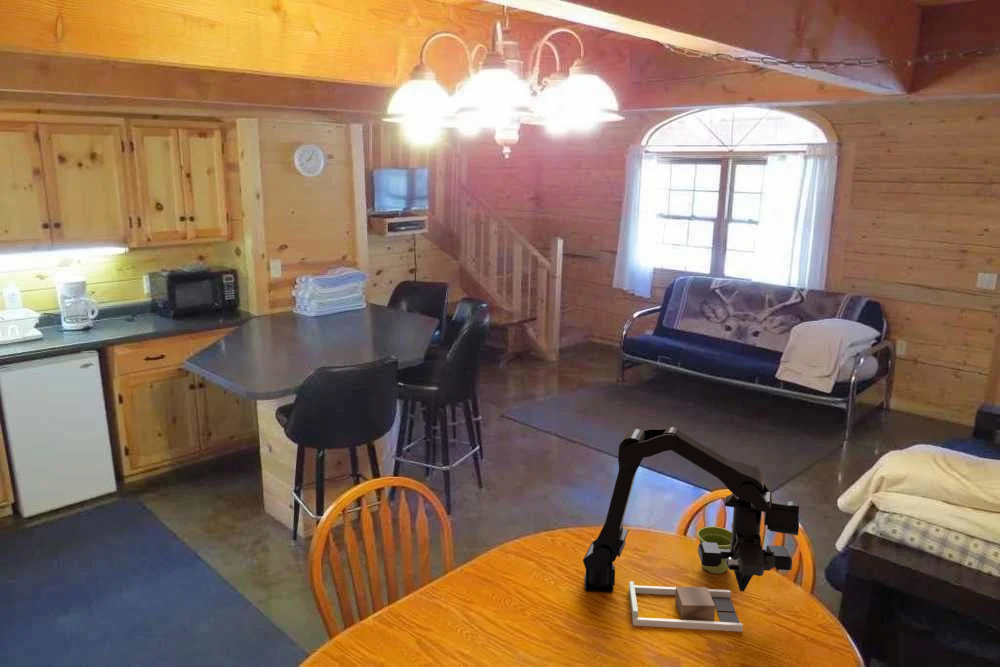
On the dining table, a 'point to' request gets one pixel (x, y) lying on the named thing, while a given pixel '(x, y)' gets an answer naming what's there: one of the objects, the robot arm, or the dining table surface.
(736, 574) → the robot arm
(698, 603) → the walnut block
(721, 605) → the pads
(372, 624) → the dining table surface
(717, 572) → the plant pot
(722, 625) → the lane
